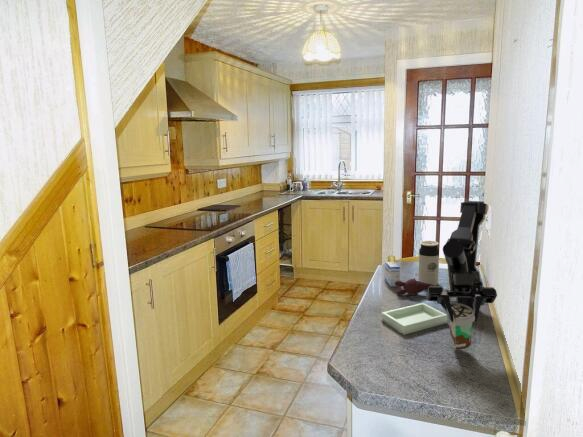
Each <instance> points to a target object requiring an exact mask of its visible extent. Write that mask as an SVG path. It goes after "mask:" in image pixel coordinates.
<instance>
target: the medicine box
mask: <svg viewBox="0 0 583 437" xmlns="http://www.w3.org/2000/svg"><path fill="white" fill-rule="evenodd" d="M384 281H385V283H386V284H387V285H388V286H389V287H397V286H396V285H395V282H396V281H401V266H400V265H399V264H398V263H396V262H395V261H385V262H384Z"/></svg>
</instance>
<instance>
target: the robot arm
mask: <svg viewBox="0 0 583 437" xmlns="http://www.w3.org/2000/svg"><path fill="white" fill-rule="evenodd" d="M488 209H489V206H488V204H487V203H485V201H478V200H465V201H461V202H460V210H459V213H460V214H461V215H460V219H459V222H458V224H457V229H455V230H454V231H452V232H451V235H450V237H449V238H448V239H447V241H446V242H445V244H444V245H443V246H442V251H443V256H444V258H445V259H444V260H445V262H446V264H447V273H448V282H449V290H448V289H444V288H443V286H442V285H435V286H429V288H428V289H427V293H426V299H427V301H428V302H436V304H439V305H441V307H442V308H443V310H444V311H445V314H447V318H448V319H450V321H451V322H453V314H452V309H451V305H450V302H451V298H455V299H456V300H455V303H460V304H464V305H467V306H469V307H470V308H472V310H473V312H474V315H475V320H474V321H473V323H474V324H477V322H478V318H479V314H480V309H481V306H484V305H485V304H493V303H494V302H495V300H496V299H497V297H498V293H497V290H496V289H495V288H494V287H492V286H491V287H488V286H484V285H483V284H484V283H483V282H482V279H481V274H480V271H479V270H478V268H477V257H478V246H479V236H480V235H479V234H480V226H481V225H482V224H483V223H484V222H485V220H486V215H487V214H488V211H489V210H488ZM487 216H488V215H487Z"/></svg>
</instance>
